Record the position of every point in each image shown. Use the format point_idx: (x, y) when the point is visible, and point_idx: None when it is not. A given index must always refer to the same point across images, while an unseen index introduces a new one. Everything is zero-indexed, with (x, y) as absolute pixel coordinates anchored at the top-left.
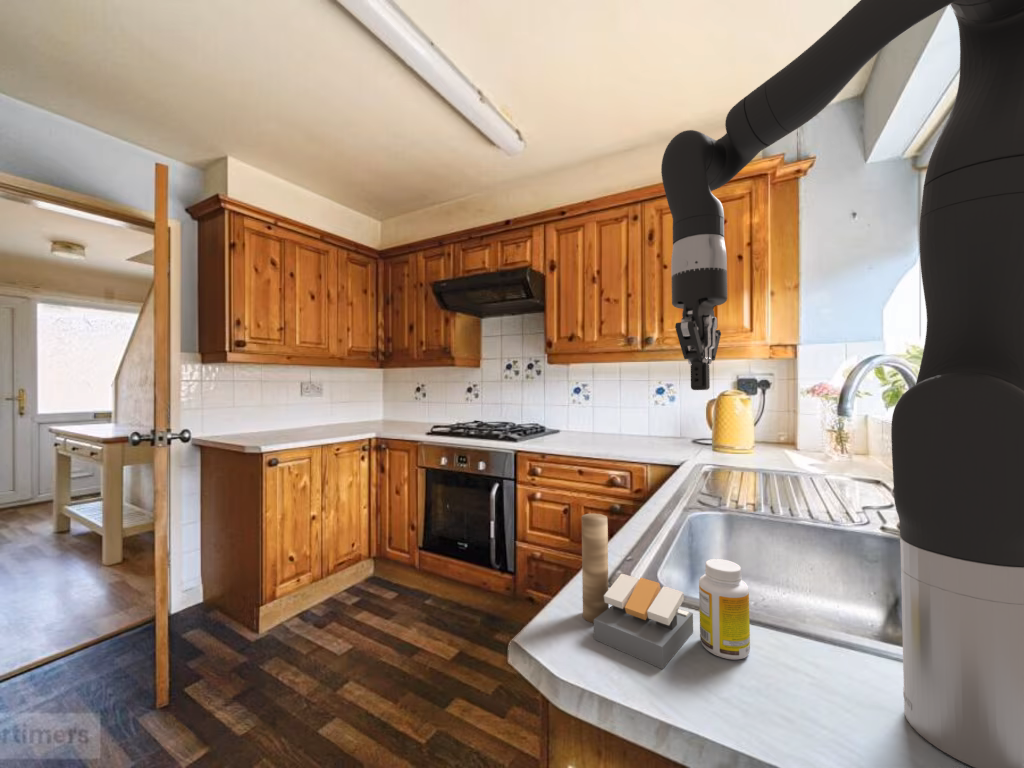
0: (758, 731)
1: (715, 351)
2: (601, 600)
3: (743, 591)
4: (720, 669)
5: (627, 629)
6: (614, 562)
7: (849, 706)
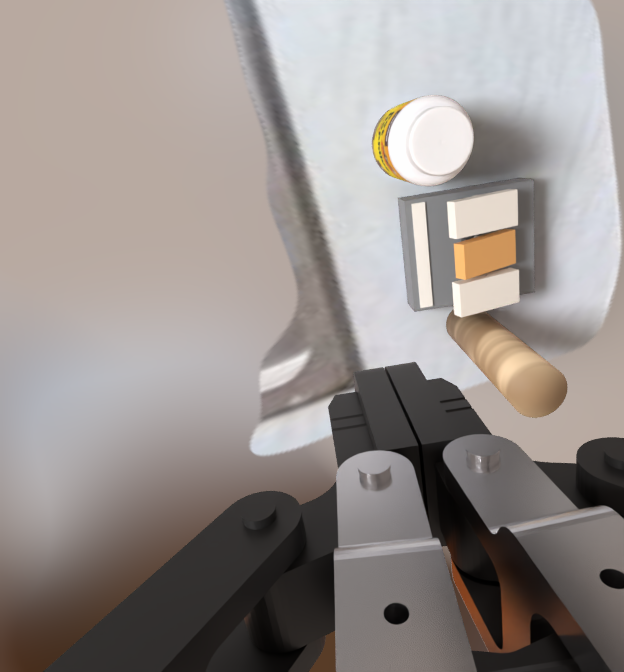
0: (554, 28)
1: (199, 568)
2: (488, 315)
3: (444, 97)
4: None
5: (525, 241)
6: (267, 430)
7: None
